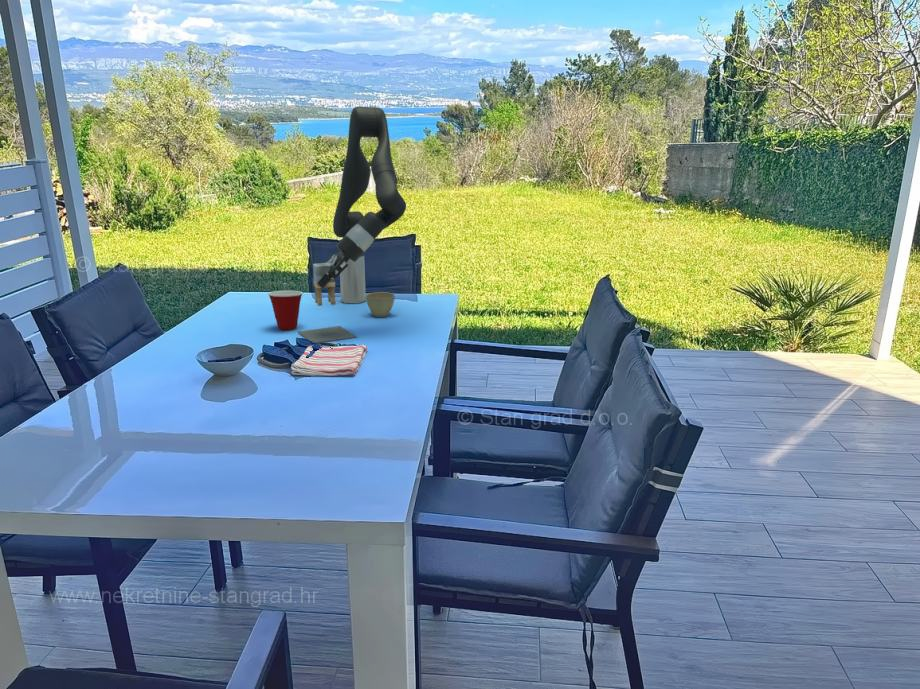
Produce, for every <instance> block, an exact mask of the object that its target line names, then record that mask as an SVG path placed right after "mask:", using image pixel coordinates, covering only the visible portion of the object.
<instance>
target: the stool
mask: <svg viewBox="0 0 920 689" xmlns="http://www.w3.org/2000/svg"><path fill="white" fill-rule="evenodd" d="M330 264H331V263H326V262H321V263H319V262H318V263H317V262H316V263H313V264H312V268H313V269H312V272H313V286H314V300H315V301H314V302H315V304H317V306H318V307H321V306H323V295H322V294H323V293H322V289H324V288H325V289H326V288H327V295H328V296H327V297H328V299H327V300H328V303H330V305H331V306H335V305H336V290H335V288H336V280H335V279H336V278H335V279H331V280H330V281H329V282H328V283H327V285H326V286H325V287H324V288H322V287H321V286H319V285H318V282H319V281H320V279H321V278H322V277H323V276H324V275H325V274H326V272H327V271H328V270H329V269H330ZM333 267H334V265H333ZM333 273H334V271H333Z"/></svg>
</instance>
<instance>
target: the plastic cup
mask: <svg viewBox="0 0 920 689" xmlns="http://www.w3.org/2000/svg"><path fill="white" fill-rule="evenodd" d="M303 294H304V292H303V291H299V290H276V291H275V290H273V291H269V292H268V293H267V295H268V296H269V298H270V302H271V306H272V310H273V314H274V318H275V321H276V324H277V328H278V330H280V331H293V330H296V329H297V327H298V320H299V315H300V305H301V300H302V296H303Z"/></svg>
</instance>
